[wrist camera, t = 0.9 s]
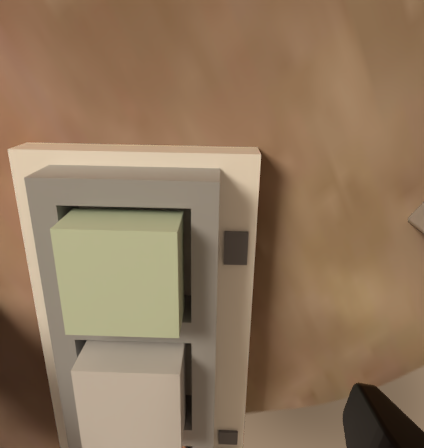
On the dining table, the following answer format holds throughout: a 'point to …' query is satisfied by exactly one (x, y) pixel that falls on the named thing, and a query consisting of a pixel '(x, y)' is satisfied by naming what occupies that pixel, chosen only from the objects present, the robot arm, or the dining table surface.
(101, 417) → the grey key
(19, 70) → the dining table surface
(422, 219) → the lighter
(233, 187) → the grey piece
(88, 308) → the sage key
